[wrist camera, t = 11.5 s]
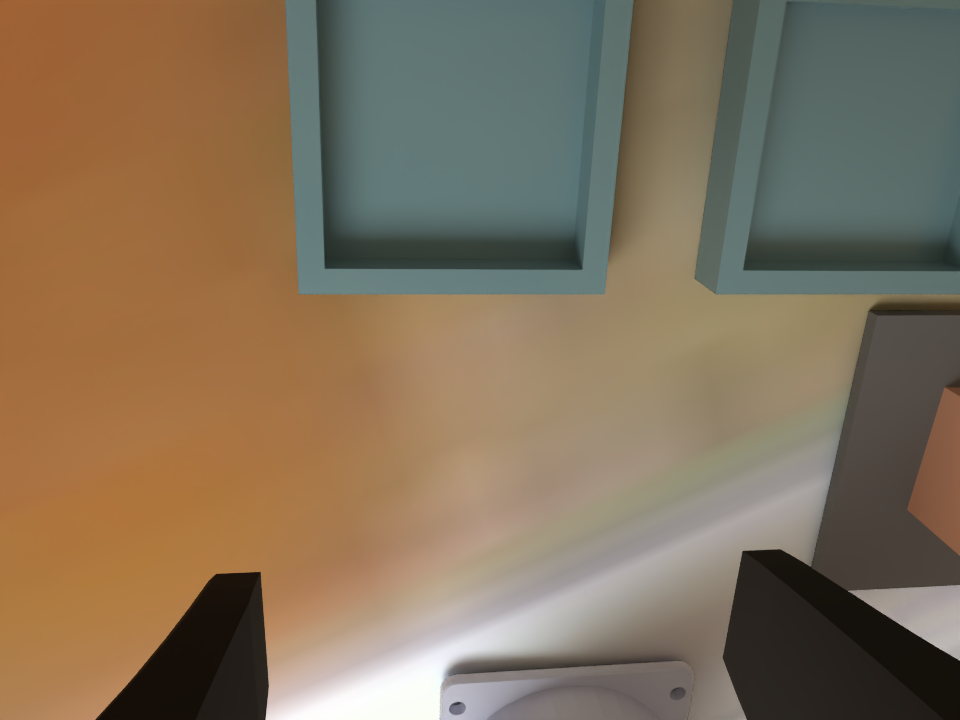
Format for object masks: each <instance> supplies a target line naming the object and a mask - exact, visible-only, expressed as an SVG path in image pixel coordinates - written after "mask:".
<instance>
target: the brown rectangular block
mask: <svg viewBox="0 0 960 720" xmlns="http://www.w3.org/2000/svg"><path fill="white" fill-rule="evenodd" d="M907 510H908V511H909V512H910V513H911V514H912V515H914V516H915V517H916V518H917V519H918V520H919V521H920V522H922V523H923V524H924V525H925V526H926V527H927V528H928V529H930V530H931V531H932V532H933V533H934V534H935V535H936V536H938V537H939V538H940V539H941V540H942V541H943V542H944V543H946V544H947V545H948V546H949V547H950V548H951V549H952V550H954V551H955V552H956V553H957V554H958V555H959V556H960V388H957V387H944V390H943V394H942V397H941V400H940V403H939V407H938V410H937V413H936V416H935V420H934V423H933V426H932V430H931V433H930V436H929V439H928V443H927V446H926V449H925V452H924V456H923V459H922V462H921V465H920V469H919V472H918V475H917V478H916V482H915V485H914V488H913V491H912V495H911V498H910V501H909V505H908V508H907Z"/></svg>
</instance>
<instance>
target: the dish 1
mask: <svg viewBox="0 0 960 720" xmlns="http://www.w3.org/2000/svg"><path fill="white" fill-rule="evenodd" d="M633 2H634V0H285V4H286V26H287V47H288V69H289V91H290V113H291V135H292V157H293V179H294V201H295V223H296V245H297V266H298V288H299V294H605V286H606V276H607V266H608V256H609V246H610V236H611V225H612V215H613V205H614V195H615V185H616V175H617V164H618V154H619V144H620V134H621V124H622V114H623V103H624V93H625V83H626V73H627V63H628V53H629V42H630V32H631V22H632V12H633Z"/></svg>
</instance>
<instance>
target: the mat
mask: <svg viewBox="0 0 960 720" xmlns="http://www.w3.org/2000/svg"><path fill="white" fill-rule="evenodd" d="M944 387H957V388H960V311H869V313H868V318H867V322H866V326H865V331H864V335H863V340H862V344H861V349H860V353H859V358H858V362H857V367H856V371H855V375H854V380H853V384H852V389H851V393H850V398H849V402H848V407H847V411H846V416H845V420H844V424H843V429H842V433H841V438H840V442H839V447H838V451H837V456H836V460H835V465H834V469H833V473H832V478H831V482H830V487H829V491H828V496H827V500H826V505H825V509H824V514H823V518H822V522H821V527H820V531H819V536H818V540H817V545H816V549H815V554H814V558H813V563H812V567H811V568H813V569H814V570H816V571H817V572H819V573H821V574H822V575H824V576H825V577H827V578H828V579H830V580H832V581H833V582H835V583H836V584H838V585H839V586H841V587H842V588H844V589H845V590H847V591H850V590H869V589H889V588H908V587H928V586H947V585H960V556H959V555H958V554H957V553H956V552H955V551H954V550H952V549H951V548H950V547H949V546H948V545H947V544H946V543H944V542H943V541H942V540H941V539H940V538H939V537H938V536H936V535H935V534H934V533H933V532H932V531H931V530H930V529H928V528H927V527H926V526H925V525H924V524H923V523H922V522H920V521H919V520H918V519H917V518H916V517H915V516H914V515H912V514H911V513H910V512H909V511H908V510H907V508H908V505H909V501H910V498H911V495H912V491H913V488H914V485H915V482H916V478H917V475H918V472H919V469H920V465H921V462H922V459H923V456H924V452H925V449H926V446H927V443H928V439H929V436H930V433H931V430H932V426H933V423H934V420H935V416H936V413H937V410H938V407H939V403H940V400H941V397H942V394H943V390H944Z"/></svg>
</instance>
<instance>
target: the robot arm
mask: <svg viewBox="0 0 960 720" xmlns="http://www.w3.org/2000/svg"><path fill="white" fill-rule="evenodd" d="M723 660H724V662H725V665H726V668H727V670H728V673H729V676H730V678H731V681H732V684H733V686H734V689H735V692H736V694H737V696H738V699H739V701H740V704H741V706H742V709H743V711H744V713H745V716H746V718H747V720H960V661H959V660H958V659H956V658H954V657H952V656H951V655H949V654H947V653H946V652H944V651H942V650H940V649H939V648H937V647H935V646H934V645H932V644H930V643H929V642H927V641H925V640H924V639H922V638H921V637H919V636H917V635H916V634H914V633H912V632H911V631H909V630H908V629H906V628H904V627H903V626H901V625H900V624H898V623H896V622H895V621H893V620H892V619H890V618H889V617H887V616H886V615H884V614H882V613H881V612H879V611H878V610H876V609H875V608H873V607H872V606H870V605H868V604H867V603H865V602H864V601H862V600H861V599H859V598H858V597H856V596H855V595H853V594H851V593H850V592H848V591H847V590H845V589H844V588H842V587H841V586H839V585H838V584H836V583H835V582H833V581H832V580H830V579H828V578H827V577H825V576H824V575H822V574H821V573H819V572H817V571H816V570H814V569H813V568H811V567H810V566H808V565H806V564H805V563H803V562H802V561H800V560H798V559H796V558H795V557H793V556H791V555H790V554H788V553H786V552H784V551H782V550H780V549H778V550H755V551H743V552H742V557H741V563H740V568H739V573H738V579H737V584H736V589H735V595H734V600H733V606H732V611H731V616H730V622H729V627H728V633H727V638H726V643H725V649H724V654H723ZM693 685H694V673H693V671H692V669H691V667H690V666H689V665H688V664H687V663H686V662H684V661H666V662H650V663H634V664H618V665H601V666H585V667H569V668H553V669H536V670H520V671H504V672H488V673H472V674H457V675H452V676H450V677H448V678H446V679H445V680H444V681H443V683H442V685H441V689H440V720H688V714H689V708H690V702H691V696H692V691H693ZM677 687H680V688H678V689H677V690H674V691H672V690H673V689H674V688H677ZM268 688H269V682H268V669H267V655H266V641H265V628H264V614H263V601H262V587H261V573H260V572H251V573H228V574H216V575H215V576H214V577H213V578H211V579H210V580H209V581H208V583H207V584H206V585H205V587H204V588H203V590H202V591H201V592H200V594H199V595H198V597H197V598H196V599H195V601H194V602H193V603H192V605H191V606H190V608H189V609H188V610H187V612H186V613H185V614H184V616H183V617H182V618H181V619H180V621H179V622H178V623H177V625H176V626H175V627H174V629H173V630H172V631H171V632H170V634H169V635H168V636H167V638H166V639H165V640H164V641H163V643H162V644H161V645H160V646H159V647H158V649H157V650H156V651H155V652H154V653H153V655H152V656H151V657H150V658H149V659H148V661H147V662H146V663H145V664H144V666H143V667H142V668H141V669H140V670H139V672H138V673H137V674H136V675H135V676H134V678H133V679H132V680H131V681H130V682H129V683H128V685H127V686H126V687H125V688H124V689H123V690H122V691H121V692H120V693H119V694H118V696H117V697H116V698H115V699H114V700H113V701H112V702H111V703H110V704H109V705H108V706H107V708H106V709H105V710H104V711H103V712H102V713H101V714H100V715H99V716H98V717H97V718H96V720H265V718H266V708H267V698H268ZM455 702H462V703H461V704H459V705H451V704H453V703H455Z"/></svg>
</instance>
